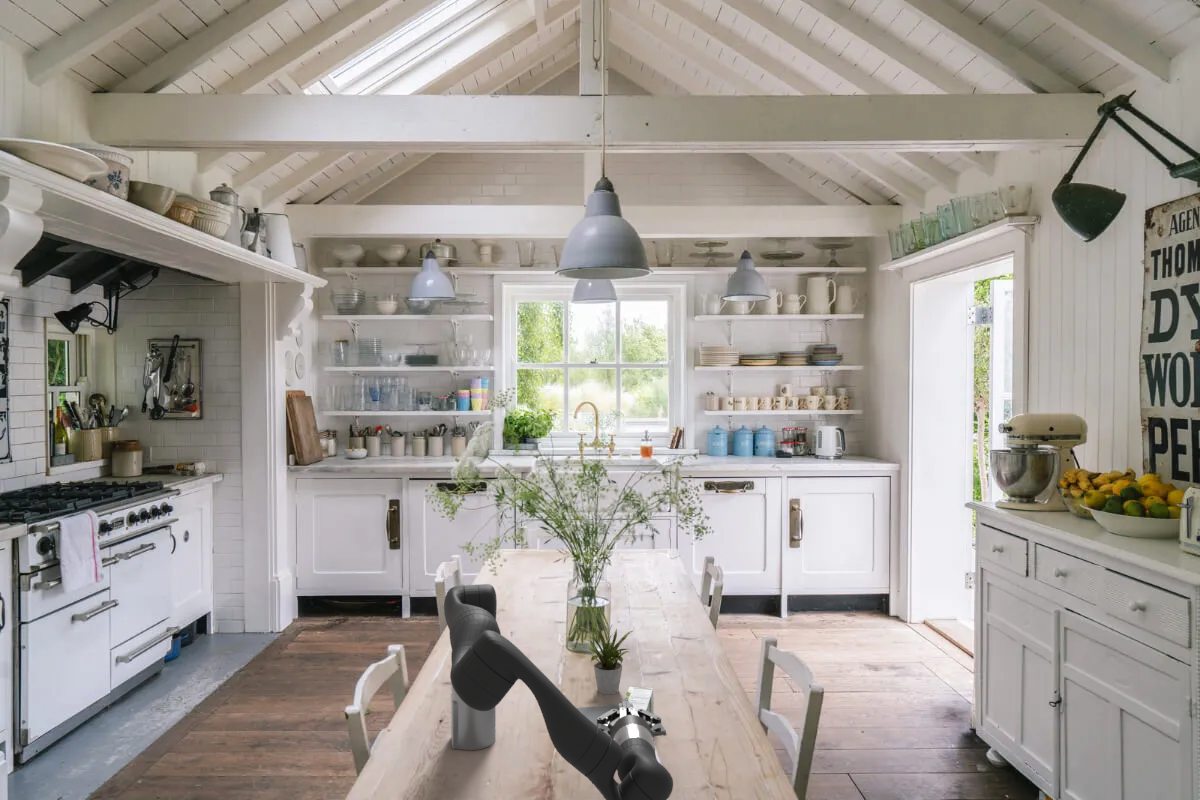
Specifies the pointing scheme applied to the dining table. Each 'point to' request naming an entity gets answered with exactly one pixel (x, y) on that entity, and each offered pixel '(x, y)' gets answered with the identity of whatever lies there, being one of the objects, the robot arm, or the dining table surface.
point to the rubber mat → (597, 711)
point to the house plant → (607, 663)
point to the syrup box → (641, 698)
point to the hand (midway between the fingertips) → (625, 705)
